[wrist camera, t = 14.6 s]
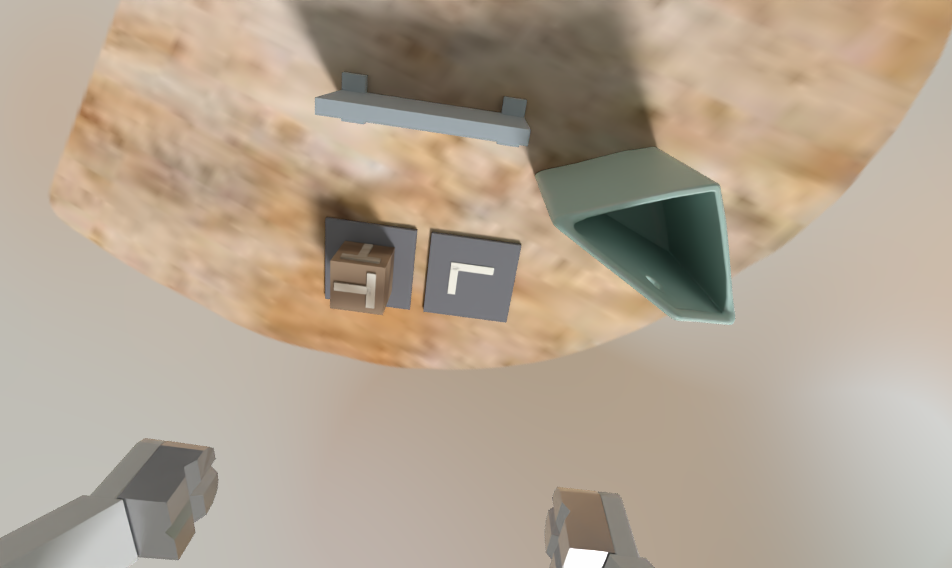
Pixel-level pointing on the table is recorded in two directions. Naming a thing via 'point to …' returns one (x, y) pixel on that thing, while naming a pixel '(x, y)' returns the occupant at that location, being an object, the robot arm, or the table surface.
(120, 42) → the table surface
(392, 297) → the pad
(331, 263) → the cube
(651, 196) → the planter
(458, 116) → the screen
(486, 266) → the pad
